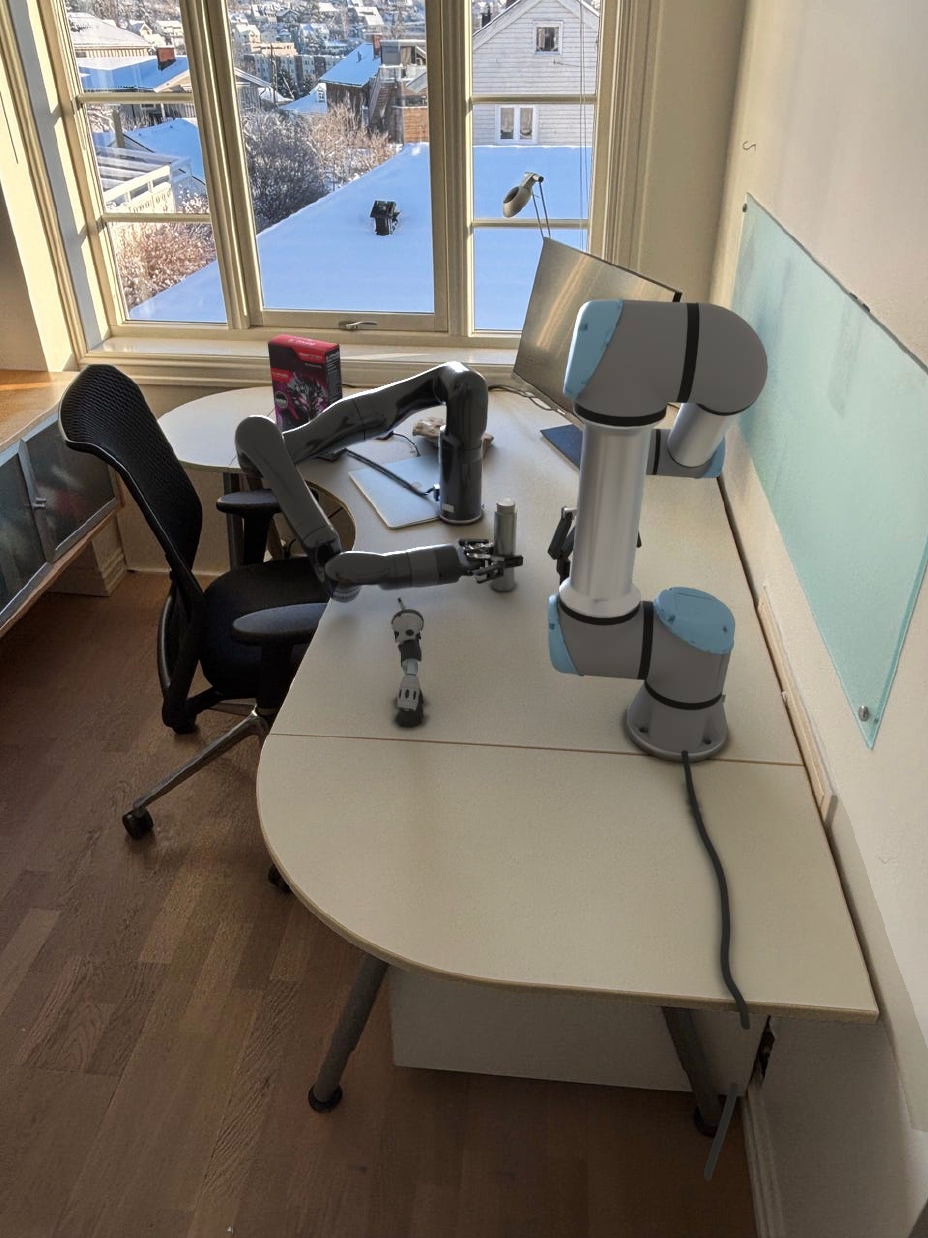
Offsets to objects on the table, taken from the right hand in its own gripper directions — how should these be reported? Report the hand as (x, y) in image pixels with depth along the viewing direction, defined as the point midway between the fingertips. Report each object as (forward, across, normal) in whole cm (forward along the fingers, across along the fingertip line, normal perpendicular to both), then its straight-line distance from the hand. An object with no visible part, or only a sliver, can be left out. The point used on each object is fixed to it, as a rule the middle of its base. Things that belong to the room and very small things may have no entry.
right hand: (591, 583), depth 176 cm
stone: (+1, +8, -73) cm, 74 cm away
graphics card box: (+1, +42, -80) cm, 90 cm away
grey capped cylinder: (+2, +16, -6) cm, 17 cm away
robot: (+2, +42, +26) cm, 49 cm away
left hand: (-5, +13, -6) cm, 15 cm away
